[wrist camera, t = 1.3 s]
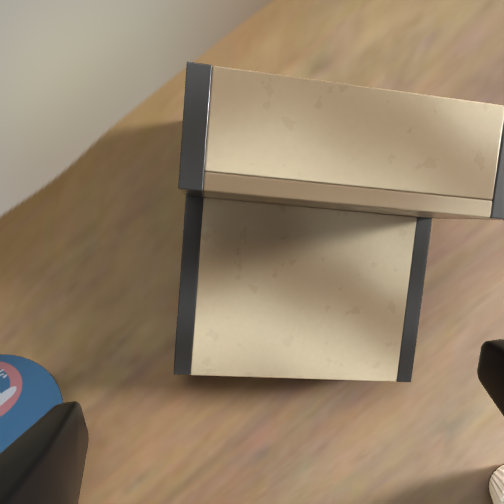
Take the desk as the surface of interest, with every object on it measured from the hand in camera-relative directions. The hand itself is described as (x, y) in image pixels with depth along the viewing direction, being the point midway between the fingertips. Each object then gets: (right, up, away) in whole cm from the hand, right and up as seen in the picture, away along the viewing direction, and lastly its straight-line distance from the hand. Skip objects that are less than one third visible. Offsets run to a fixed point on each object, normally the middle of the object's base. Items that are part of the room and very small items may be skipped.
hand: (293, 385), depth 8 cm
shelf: (+2, +3, +17) cm, 18 cm away
